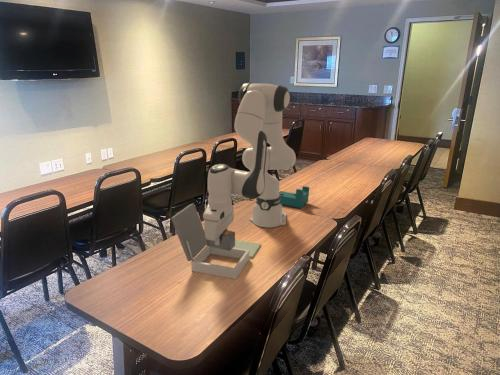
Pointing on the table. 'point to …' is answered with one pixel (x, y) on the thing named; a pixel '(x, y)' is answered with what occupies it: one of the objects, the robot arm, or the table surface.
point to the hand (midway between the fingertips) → (220, 240)
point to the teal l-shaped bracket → (295, 197)
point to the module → (224, 241)
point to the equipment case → (217, 269)
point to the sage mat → (247, 247)
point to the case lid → (190, 230)
